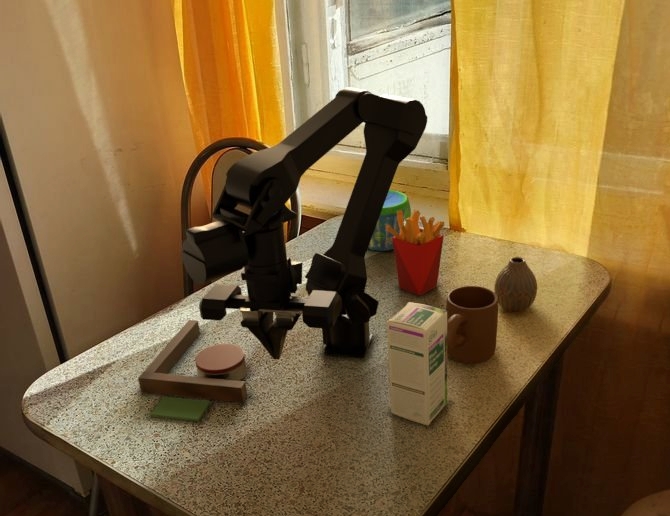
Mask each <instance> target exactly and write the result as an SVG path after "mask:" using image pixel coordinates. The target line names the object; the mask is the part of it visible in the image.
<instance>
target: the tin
mask: <svg viewBox="0 0 670 516" xmlns="http://www.w3.org/2000/svg"><path fill="white" fill-rule="evenodd" d="M194 363H195V366H196V372H197V377H204V378H214V379H224V380H235V381H243V380H244V378H245V377H246V376H247V372H248V371H247V365H246V364H247V363H246V355H245V351H244V349H243V348H242V347H241V346H239V345H237V344H233V343H219V344H218V343H217V344H213V345H210V346H208V347H206V348H204V349H202V350H201V351H200V352H198V353H197V355H196V356H195V359H194Z"/></svg>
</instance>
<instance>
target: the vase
mask: <svg viewBox="0 0 670 516" xmlns="http://www.w3.org/2000/svg"><path fill="white" fill-rule="evenodd" d="M493 290H494V291H493V292H494V293H495V294H496V295H497V297H498V306H499V307H501V309H503V310H504V311H506V312H509V313H514V314H515V313H523V312H525V311H526V310H528V309H529V308H531V306H532V305H533V304H534V302H535V300H536V297H537V293H538V282H537V278H536V275H535V274H534V272H533V271H532V269H531V268H530V267H529V265H528V263H527V261H526V259H525V258H523V257H520V256H519V257H518V256H515V257H511V258H510V259H509V261H508V263H507V264H506V265H504V267H503V268H501V270H500V271H499V273H498V274H497V276H496V278H495V281H494V289H493Z"/></svg>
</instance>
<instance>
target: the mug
mask: <svg viewBox="0 0 670 516" xmlns="http://www.w3.org/2000/svg"><path fill="white" fill-rule="evenodd" d="M445 301H446V302H445V311H447V356H449V357H450V358H451V359H453V360H454V361H456V362H459V363H462V364H472V365H473V364H481V363H484V362H486V361H489V360H490V359H492V357H493V356H494V355H495V352H496V348H497V335H498V321H499V304H498V297H497V295H496V294H495V291H493V290H492V289H490V288H487V287H484V286H480V285H479V286H478V285H462V286H459V287H455V288H452V289H451V290H450V291H449V292H448V293H447V295H446V300H445Z"/></svg>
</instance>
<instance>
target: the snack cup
mask: <svg viewBox="0 0 670 516" xmlns="http://www.w3.org/2000/svg"><path fill="white" fill-rule="evenodd" d="M399 210H402V212H403V222H404V223H405V220H406V219H407V218H411V215H412V210H411V203H410V199H409V197H408V196H407V195H406V194H405V193H403V192H400V191H397V190H393V189H389V192H388V194H387V197H386V200H385V203H384V205H383V208H382V211H381V214H380V216H379V219H378V222H377V225H376V227H375V230H374V233H373V235H372V238H371V241H370V244H369V246H368V249H369V250H372V251H381V252H386V251H391V250H394V248H393V241H392V238H393V237H395V236H394V235H393V234H392V233H390V232H389V231H388V230H387V229H386V228H385V227H386V225H387V224H388V225H390V226H391V228H392V229H393V230H395V231H396V232H397V233H398V234H400V227H399V224H398V219H397V211H399Z"/></svg>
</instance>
